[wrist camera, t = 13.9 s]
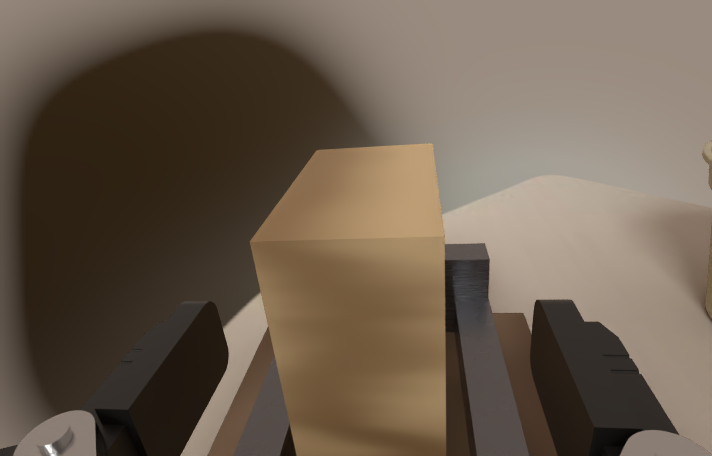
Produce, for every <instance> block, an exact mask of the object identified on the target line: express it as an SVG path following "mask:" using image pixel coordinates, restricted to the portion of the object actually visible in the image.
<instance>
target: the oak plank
mask: <svg viewBox="0 0 712 456" xmlns="http://www.w3.org/2000/svg"><path fill="white" fill-rule="evenodd" d="M250 244H251V248H252V254H253V258H254V262H255V267H256V272H257V276H258V281H259V285H260V290H261V295H262V299H263V304H264V309H265V313H266V318H267V322H268V327H269V331H270V336H271V341H272V345H273V350H274V354H275V359H276V363H277V368H278V373H279V377H280V382H281V386H282V391H283V395H284V400H285V405H286V409H287V414H288V418H289V423H290V427H291V432H292V437H293V441H294V446H295V450H296V455H297V456H446V352H445V235H444V228H443V220H442V212H441V205H440V197H439V189H438V182H437V174H436V166H435V159H434V151H433V144H432V143H430V144H413V145H396V146H379V147H362V148H345V149H328V150H317V151H316V152H315V154H314V155H313V156H312V158H311V159H310V161H309V162H308V163H307V165H306V166H305V167H304V169H303V170H302V171H301V173H300V174H299V176H298V177H297V178H296V180H295V181H294V182H293V184H292V185H291V186H290V188H289V189H288V191H287V192H286V193H285V195H284V196H283V198H282V199H281V200H280V201H279V203H278V204H277V205H276V207H275V208H274V210H273V211H272V212H271V214H270V215H269V216H268V218H267V219H266V220H265V222H264V223H263V225H262V226H261V227H260V229H259V230H258V231H257V233H256V234H255V236H254V237H253V238H252V240H251V241H250Z"/></svg>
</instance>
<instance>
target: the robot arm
mask: <svg viewBox="0 0 712 456" xmlns="http://www.w3.org/2000/svg"><path fill="white" fill-rule="evenodd" d="M228 356H229V353H228V346H227V342H226V339H225V335H224V332H223V328H222V325H221V321H220V317H219V314H218V310H217V307H216V305H215V304H214V303H213V302H182V303H181V304H180V305H179V306H178V307H177V308H176V309H175V311H174V312H173V313H172V314H171V316H170V317H169V318H168V319H167V320H166V321H162V322H161V323H159V324H158V325H156V326H155V327H153V328H152V329H151V330H149V331H148V332H146V333H145V334H144V335H143V336H142V337H141V338H140V340H139V341H138V342H137V343H136V344H135V345H134V347H133V348H132V351H131V352H128V354H127V355H126V356H125V357H124V358H123V359H122V361H121V364H118V365H117V367H116V368H115V369H114V370H113V371H112V372H111V374H110V375H109V376H108V377H107V378H106V379H105V381H104V382H103V383H102V384H101V385H100V387H99V388H98V389H97V390H96V391H95V392H94V393H93V395H92V396H91V397H90V398H89V399H88V400H87V402H86V403H85V404H84V405H83V407H81V409H80V410H76V411H69V412H65V413H62V414H59V415H56V416H54V417H52V418H50V419H48V420H46V421H45V422H43V423H42V424H40V425H38V426H37V427H36V428H34V429H33V430H32V431H31V432H29V434H27V435H26V436H25V437H24V439H23V440H22V441H21V442H20V443H19V445H16V446H11V447H7V448H3V449H0V456H180V455H181V453H182V451H183V449H184V448H185V446H186V444H187V442H188V440H189V438H190V436H191V435H192V433H193V431H194V429H195V427H196V425H197V423H198V422H199V420H200V418H201V416H202V414H203V412H204V410H205V409H206V407H207V405H208V403H209V401H210V399H211V397H212V396H213V394H214V392H215V390H216V388H217V386H218V384H219V383H220V381H221V379H222V377H223V375H224V373H225V371H226V368H227V365H228ZM530 364H531V371H532V376H533V380H534V383H535V386H536V389H537V393H538V396H539V399H540V402H541V405H542V408H543V411H544V415H545V418H546V421H547V424H548V427H549V430H550V433H551V436H552V440H553V443H554V446H555V449H556V452H557V455H558V456H712V454H711V453H709V452H708V451H707V450H705V449H704V448H703V447H701V446H700V445H698V444H696V443H695V442H693V441H691V440H689V439H687V438H685V437H682V436H680V435H679V434H678V432H677V431H676V429H675V427H674V426H673V424H672V423H671V421H670V419H669V418H668V416H667V415H666V413H665V411H664V410H663V408H662V407H661V405H660V403H659V402H658V400H657V399H656V397H655V395H654V394H653V392H652V391H651V389H650V387H649V386H648V384H647V383H646V381H645V379H644V378H643V376H642V375H641V374H639V370H638V368H637V367H636V365H635V363H634V362H633V360H632V359H630V358H629V354H628V352H627V350H626V349H625V347H624V346H623V344H622V342H621V341H620V339H619V338H618V337H617V336H616V335H615V334H614V333H612V332H611V331H610V330H608V329H607V328H606V327H605V326H603V325H602V324H601V323H600V322H584V320H583V319H582V317H581V315H580V313H579V311H578V309H577V308H576V306H575V304H574V302H573V301H572V300H536V302H535V306H534V314H533V325H532V336H531V347H530Z"/></svg>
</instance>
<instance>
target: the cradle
mask: <svg viewBox="0 0 712 456" xmlns="http://www.w3.org/2000/svg"><path fill="white" fill-rule="evenodd" d="M489 261H490V259H489V256H488V253H487V249H486V246H485V243H483V244H445V352H446V456H558V455H557V452H556V449H555V446H554V443H553V440H552V436H551V433H550V430H549V427H548V424H547V421H546V418H545V415H544V411H543V408H542V405H541V402H540V399H539V396H538V393H537V389H536V386H535V383H534V380H533V376H532V371H531V364H530V347H531V336H532V335H531V333H530V330H529V327H528V325H527V322H526V319H525V316H524V314H523V313H492V311H491V307H490V303H489V299H488V285H489ZM207 456H297V455H296V450H295V446H294V441H293V437H292V432H291V427H290V423H289V418H288V414H287V409H286V405H285V400H284V395H283V391H282V386H281V382H280V377H279V373H278V368H277V363H276V359H275V354H274V350H273V345H272V341H271V336H270V331H269V327H268V328H267V330H266V332H265V334H264V336H263V339H262V341H261V343H260V345H259V347H258V349H257V351H256V353H255V356H254V358H253V360H252V362H251V364H250V366H249V368H248V370H247V373H246V375H245V377H244V379H243V381H242V383H241V385H240V387H239V390H238V392H237V394H236V396H235V398H234V400H233V402H232V404H231V407H230V409H229V411H228V413H227V415H226V417H225V419H224V421H223V424H222V426H221V428H220V430H219V432H218V434H217V436H216V438H215V441H214V443H213V445H212V447H211V449H210V451H209V453H208V455H207Z"/></svg>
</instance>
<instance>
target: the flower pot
mask: <svg viewBox="0 0 712 456" xmlns="http://www.w3.org/2000/svg"><path fill="white" fill-rule="evenodd" d="M702 156H703V158H704V160H705V161H706V162H707V163H708V164H709V165H710V166H709V167H710V168H709V185H710V188H711V189H712V141H709V142H708V143H707V144H706V145H705V146H704V148H703V153H702ZM705 305H706V310H707V312H708V314H709V316H710V317H711V319H712V227H711V243H710V257H709V268H708V279H707V293H706V301H705Z"/></svg>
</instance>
